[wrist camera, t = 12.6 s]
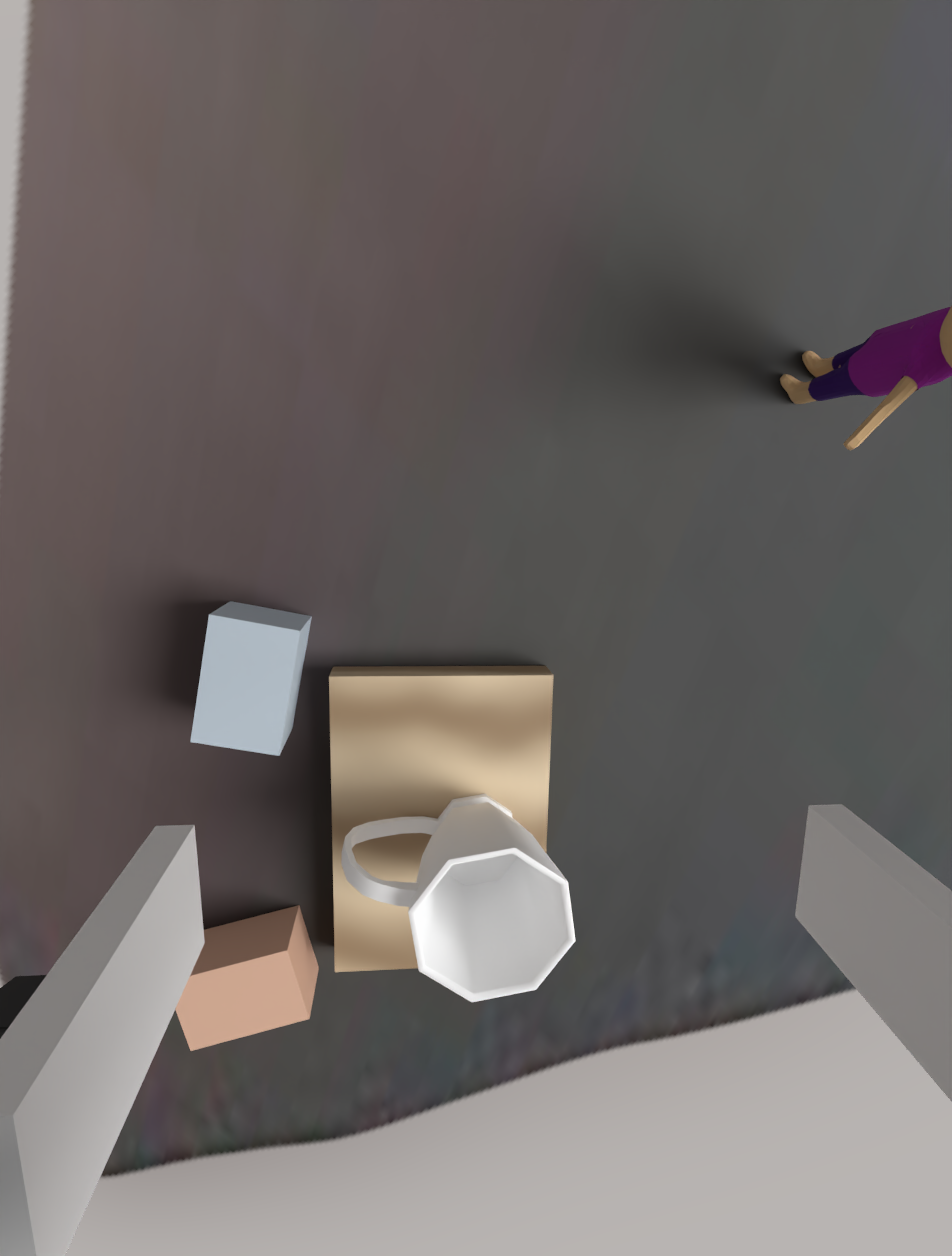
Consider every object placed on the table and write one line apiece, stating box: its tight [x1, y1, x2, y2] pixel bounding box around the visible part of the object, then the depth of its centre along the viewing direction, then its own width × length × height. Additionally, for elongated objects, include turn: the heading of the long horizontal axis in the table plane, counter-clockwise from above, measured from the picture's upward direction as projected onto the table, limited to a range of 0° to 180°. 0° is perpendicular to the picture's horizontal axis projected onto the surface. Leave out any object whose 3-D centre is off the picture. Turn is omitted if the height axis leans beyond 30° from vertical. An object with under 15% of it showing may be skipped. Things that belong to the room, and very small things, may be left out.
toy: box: [780, 306, 952, 450], centre depth 28 cm, size 10×6×15 cm, turn 137°
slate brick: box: [191, 601, 312, 756], centre depth 34 cm, size 6×4×4 cm, turn 168°
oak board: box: [329, 666, 553, 972], centre depth 37 cm, size 16×11×2 cm
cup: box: [341, 794, 575, 1002], centre depth 32 cm, size 7×10×8 cm
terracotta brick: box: [175, 905, 319, 1051], centre depth 37 cm, size 6×4×4 cm, turn 103°
